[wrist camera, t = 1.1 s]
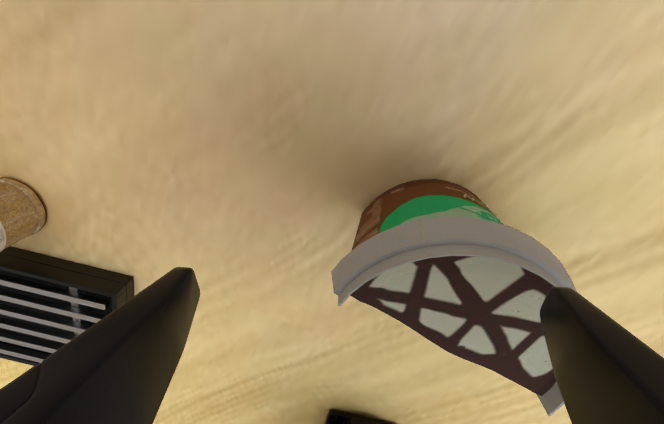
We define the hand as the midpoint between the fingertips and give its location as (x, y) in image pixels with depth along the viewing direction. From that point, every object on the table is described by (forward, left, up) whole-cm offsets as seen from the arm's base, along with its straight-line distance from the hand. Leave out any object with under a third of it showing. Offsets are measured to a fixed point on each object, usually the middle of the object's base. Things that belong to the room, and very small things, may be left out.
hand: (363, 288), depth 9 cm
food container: (-3, -6, -15) cm, 16 cm away
